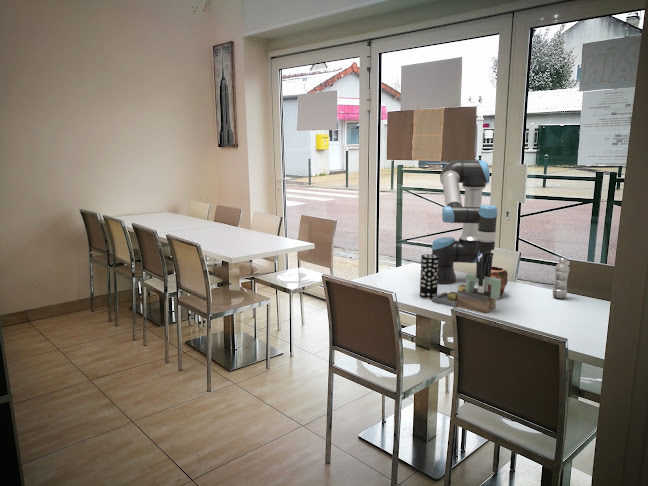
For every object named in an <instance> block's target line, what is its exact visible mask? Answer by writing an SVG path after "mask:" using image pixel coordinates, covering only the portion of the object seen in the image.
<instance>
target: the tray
mask: <svg viewBox="0 0 648 486" xmlns="http://www.w3.org/2000/svg"><path fill="white" fill-rule="evenodd" d="M448 293H449V292H446V291H445V292H443V293H440V294H437V296H435V297H433V298H432V299H431V301H432V303H435V304H440V305H443V306H449V307H452V308H458V307H457V301H456V302H452V301H447V297H448Z"/></svg>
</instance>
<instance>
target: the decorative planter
mask: <svg viewBox="0 0 648 486" xmlns="http://www.w3.org/2000/svg"><path fill="white" fill-rule="evenodd" d="M508 273H509V272H508V271H507V270H506V269H505V268H502V267H498V266H492V268H491V274H489V275H491V277H492V278H498V279H501V289H500V298H502V297H503V295H504V291H505V288H506V286H507V284H508ZM487 291H491V285H490V284H488V290H487Z"/></svg>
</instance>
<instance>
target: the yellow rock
mask: <svg viewBox="0 0 648 486" xmlns="http://www.w3.org/2000/svg"><path fill="white" fill-rule="evenodd" d="M465 290H466V284H460V285H459V284H458V286H457V292H458V291H463V292H465Z"/></svg>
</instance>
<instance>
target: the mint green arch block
mask: <svg viewBox="0 0 648 486" xmlns="http://www.w3.org/2000/svg"><path fill="white" fill-rule="evenodd" d="M465 276H466V277H465V285H466V290H465V292H468V293H472V292H474V288H475V283H478V278H476V274H474V273H471V272H469V273H466V275H465ZM484 279H485V284H490V285H491V298H494V299H496V300H498V299H500V298H501V297H500V289H501V279H498V278H492V277H487V276H484Z"/></svg>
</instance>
